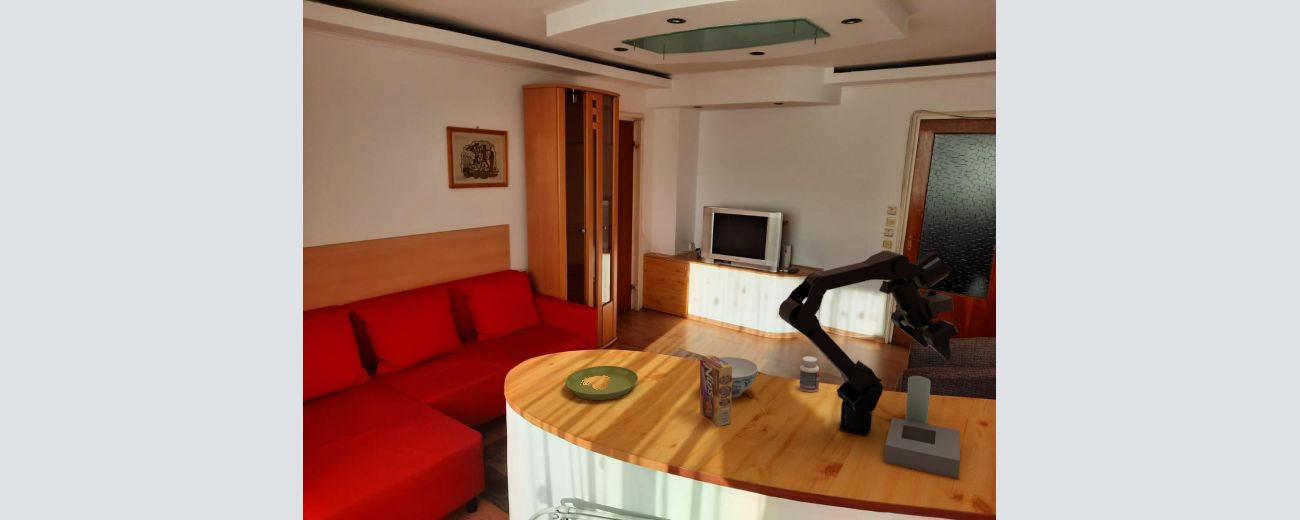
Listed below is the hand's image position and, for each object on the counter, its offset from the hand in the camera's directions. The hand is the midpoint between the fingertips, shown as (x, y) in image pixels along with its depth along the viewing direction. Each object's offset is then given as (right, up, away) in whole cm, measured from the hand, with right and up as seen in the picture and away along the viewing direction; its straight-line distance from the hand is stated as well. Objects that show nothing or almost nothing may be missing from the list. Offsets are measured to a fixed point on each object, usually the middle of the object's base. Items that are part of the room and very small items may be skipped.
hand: (936, 352), depth 135 cm
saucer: (-82, -15, +27) cm, 88 cm away
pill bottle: (-24, -14, +24) cm, 37 cm away
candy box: (-52, -18, +8) cm, 56 cm away
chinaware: (-46, -15, +22) cm, 54 cm away
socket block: (-9, -21, -11) cm, 25 cm away
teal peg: (-4, -18, +1) cm, 19 cm away
